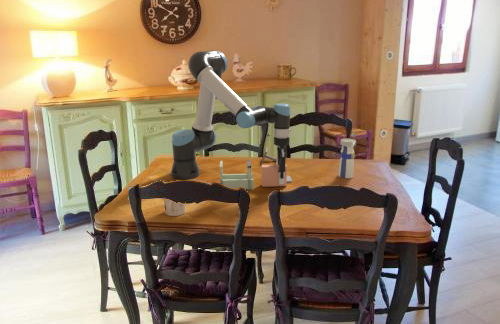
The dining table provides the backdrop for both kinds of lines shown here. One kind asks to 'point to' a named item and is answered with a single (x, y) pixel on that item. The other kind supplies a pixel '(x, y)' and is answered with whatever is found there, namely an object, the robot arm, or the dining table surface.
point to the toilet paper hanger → (268, 157)
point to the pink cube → (271, 175)
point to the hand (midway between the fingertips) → (280, 182)
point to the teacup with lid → (174, 208)
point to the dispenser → (237, 178)
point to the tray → (289, 179)
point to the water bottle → (347, 157)
